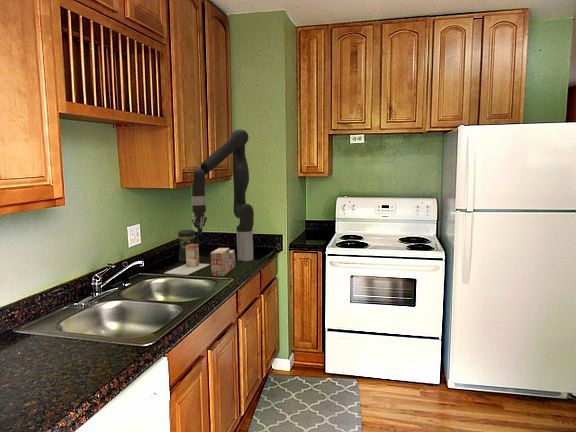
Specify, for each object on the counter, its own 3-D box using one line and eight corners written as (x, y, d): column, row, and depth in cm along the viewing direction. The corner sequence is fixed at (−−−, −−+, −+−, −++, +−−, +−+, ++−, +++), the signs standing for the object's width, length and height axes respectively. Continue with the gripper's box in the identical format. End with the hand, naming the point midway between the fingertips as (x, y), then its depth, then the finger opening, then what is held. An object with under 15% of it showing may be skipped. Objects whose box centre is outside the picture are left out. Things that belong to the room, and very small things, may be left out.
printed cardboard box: (224, 266, 241) (223, 244, 239) (235, 266, 240) (234, 244, 238) (211, 276, 220) (210, 252, 219) (223, 276, 219) (222, 252, 217)
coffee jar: (198, 259, 259) (196, 228, 257) (194, 262, 251) (192, 230, 249) (182, 259, 260) (180, 228, 258) (178, 262, 252) (176, 231, 250)
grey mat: (189, 264, 247) (188, 262, 247) (210, 265, 243) (210, 264, 243) (163, 274, 225) (163, 273, 225) (186, 276, 220) (186, 274, 220)
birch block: (191, 265, 242) (190, 243, 240) (199, 265, 240) (198, 244, 238) (186, 267, 237) (185, 245, 235) (194, 267, 235) (193, 245, 234)
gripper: (199, 203, 250) (200, 232, 252) (186, 205, 238) (187, 236, 240) (210, 203, 248) (211, 233, 250) (198, 205, 235) (199, 236, 237)
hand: (200, 234), depth 245 cm, fingers closed
